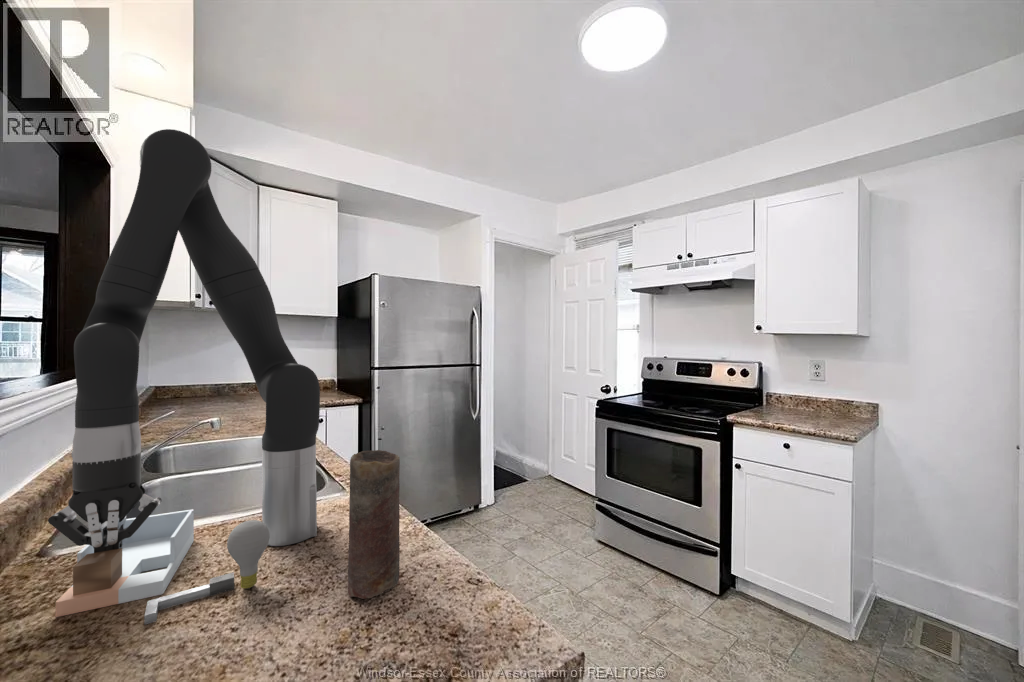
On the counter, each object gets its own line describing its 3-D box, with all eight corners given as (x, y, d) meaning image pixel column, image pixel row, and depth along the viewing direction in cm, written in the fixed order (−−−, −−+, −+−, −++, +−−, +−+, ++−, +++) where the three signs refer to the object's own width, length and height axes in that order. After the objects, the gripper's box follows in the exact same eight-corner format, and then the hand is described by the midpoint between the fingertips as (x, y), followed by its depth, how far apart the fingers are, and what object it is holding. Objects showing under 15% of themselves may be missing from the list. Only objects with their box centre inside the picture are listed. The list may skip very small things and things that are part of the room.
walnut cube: (122, 574, 63) (122, 548, 64) (110, 588, 60) (110, 560, 60) (86, 581, 62) (86, 554, 62) (72, 595, 58) (73, 566, 58)
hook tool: (233, 583, 64) (233, 572, 64) (235, 597, 61) (235, 584, 61) (147, 608, 58) (147, 595, 58) (144, 624, 55) (144, 611, 55)
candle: (386, 569, 68) (385, 446, 68) (410, 587, 63) (409, 454, 63) (339, 589, 63) (338, 455, 63) (361, 610, 57) (360, 464, 58)
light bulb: (278, 581, 65) (277, 516, 65) (245, 601, 60) (245, 531, 60) (252, 575, 67) (251, 512, 67) (218, 594, 61) (218, 526, 62)
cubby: (193, 541, 79) (193, 509, 79) (162, 594, 62) (162, 553, 62) (113, 555, 74) (113, 520, 74) (55, 617, 57) (55, 572, 57)
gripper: (169, 443, 70) (170, 547, 70) (61, 453, 64) (61, 566, 64) (155, 454, 63) (155, 568, 63) (33, 465, 58) (32, 592, 57)
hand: (108, 567), depth 64 cm, fingers closed
